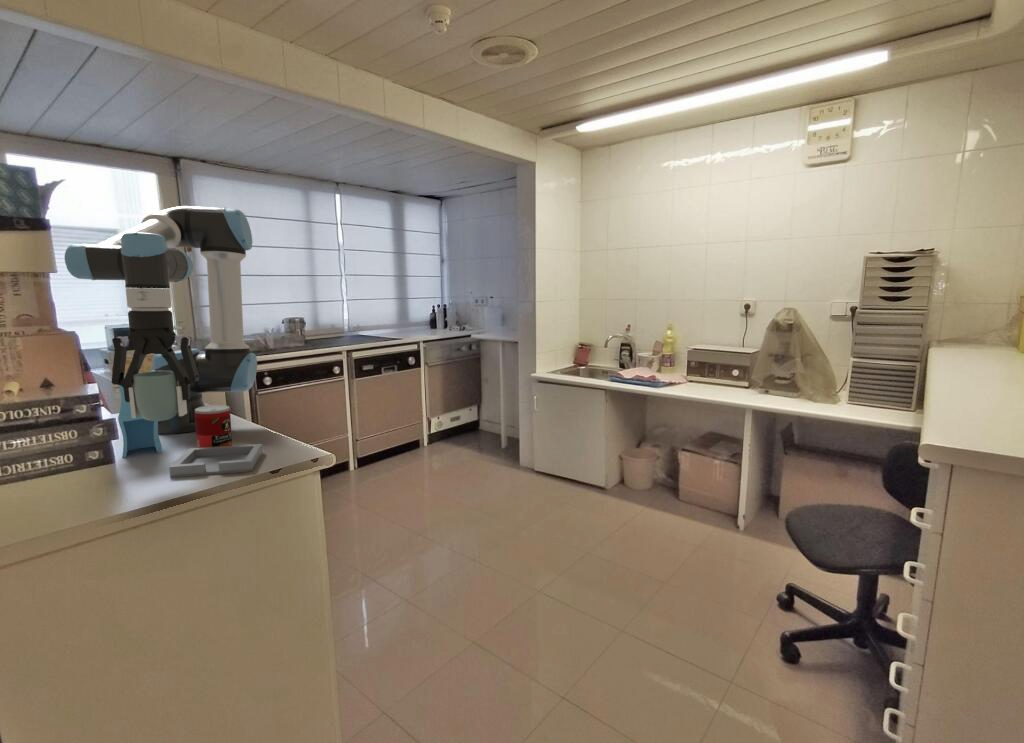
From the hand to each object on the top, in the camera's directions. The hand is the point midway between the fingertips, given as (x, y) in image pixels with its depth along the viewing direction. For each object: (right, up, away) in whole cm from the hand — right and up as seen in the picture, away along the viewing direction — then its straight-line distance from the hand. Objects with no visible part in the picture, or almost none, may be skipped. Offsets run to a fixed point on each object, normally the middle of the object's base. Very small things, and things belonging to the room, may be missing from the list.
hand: (160, 415), depth 107 cm
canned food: (-1, -11, +21) cm, 24 cm away
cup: (0, -1, 0) cm, 1 cm away
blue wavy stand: (-18, -11, +19) cm, 29 cm away
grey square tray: (+7, -13, +10) cm, 18 cm away
